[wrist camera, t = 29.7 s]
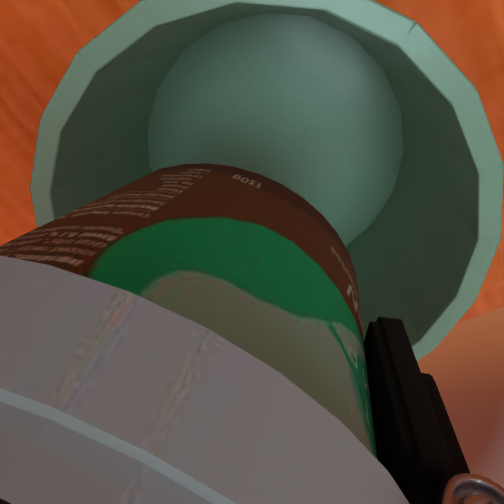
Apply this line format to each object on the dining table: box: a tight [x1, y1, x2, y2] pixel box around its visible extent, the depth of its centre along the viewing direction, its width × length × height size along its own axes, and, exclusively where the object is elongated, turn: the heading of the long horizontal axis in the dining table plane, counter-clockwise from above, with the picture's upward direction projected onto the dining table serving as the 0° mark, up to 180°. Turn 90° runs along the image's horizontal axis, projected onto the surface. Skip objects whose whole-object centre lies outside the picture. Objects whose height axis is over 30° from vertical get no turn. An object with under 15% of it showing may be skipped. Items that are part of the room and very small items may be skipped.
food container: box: [0, 163, 409, 504], centre depth 9 cm, size 12×6×10 cm, turn 18°
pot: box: [30, 0, 504, 361], centre depth 22 cm, size 18×23×12 cm
